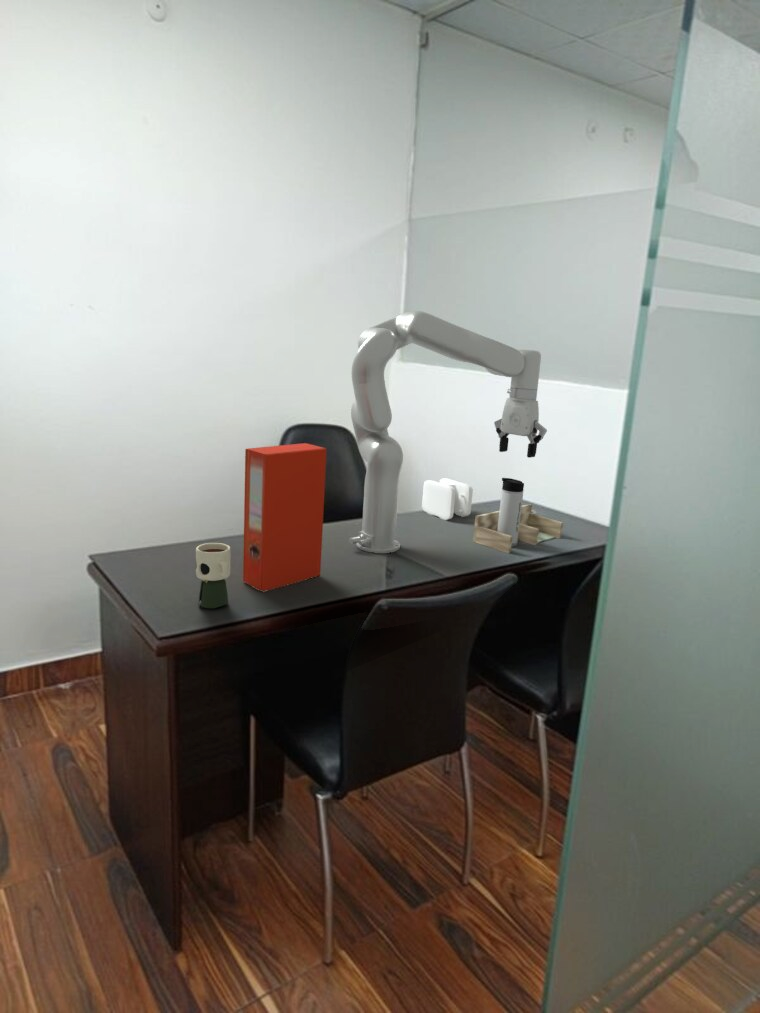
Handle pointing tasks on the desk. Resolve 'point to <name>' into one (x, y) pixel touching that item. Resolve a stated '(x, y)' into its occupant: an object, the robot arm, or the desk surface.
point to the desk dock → (529, 529)
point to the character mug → (213, 573)
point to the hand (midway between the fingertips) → (516, 454)
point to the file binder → (283, 514)
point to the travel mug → (510, 508)
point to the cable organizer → (447, 498)
